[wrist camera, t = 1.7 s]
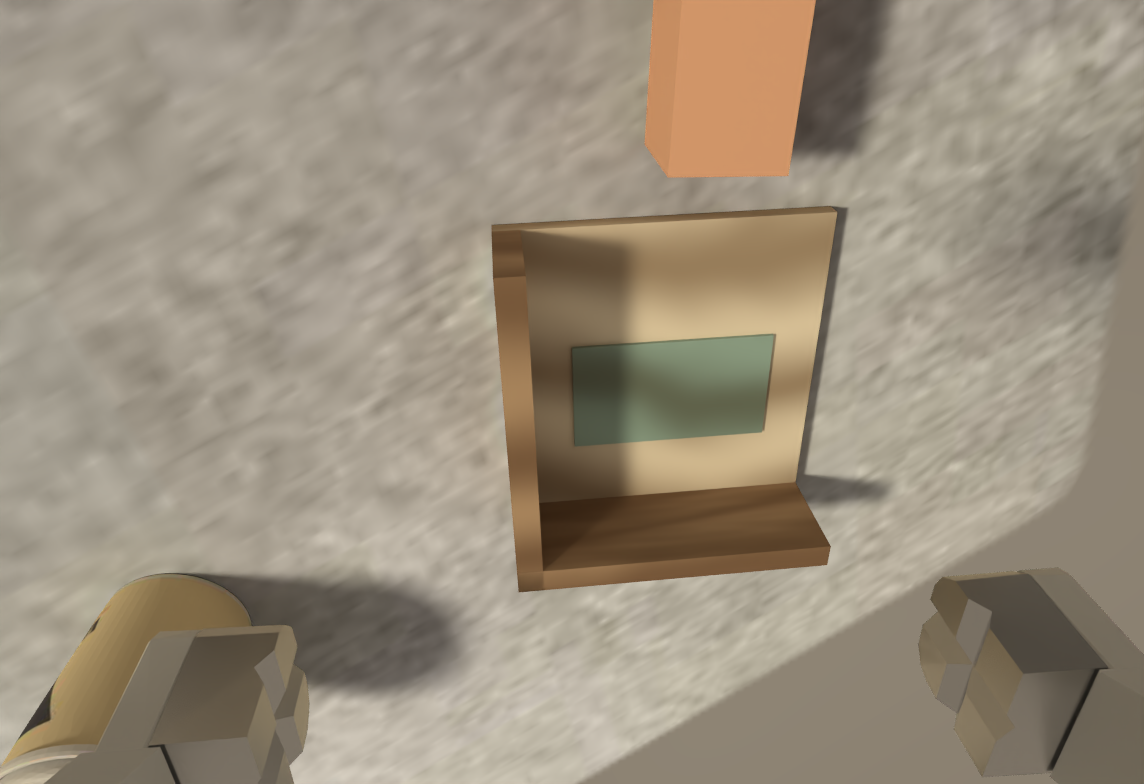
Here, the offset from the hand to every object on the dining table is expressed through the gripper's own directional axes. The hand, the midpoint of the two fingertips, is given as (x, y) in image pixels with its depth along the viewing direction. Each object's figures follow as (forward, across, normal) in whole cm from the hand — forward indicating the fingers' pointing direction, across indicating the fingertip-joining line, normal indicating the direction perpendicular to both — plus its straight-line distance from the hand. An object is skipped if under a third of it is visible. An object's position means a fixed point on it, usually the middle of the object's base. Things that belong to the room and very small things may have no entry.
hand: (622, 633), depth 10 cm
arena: (+26, -6, +11) cm, 29 cm away
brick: (+26, -7, -4) cm, 27 cm away
